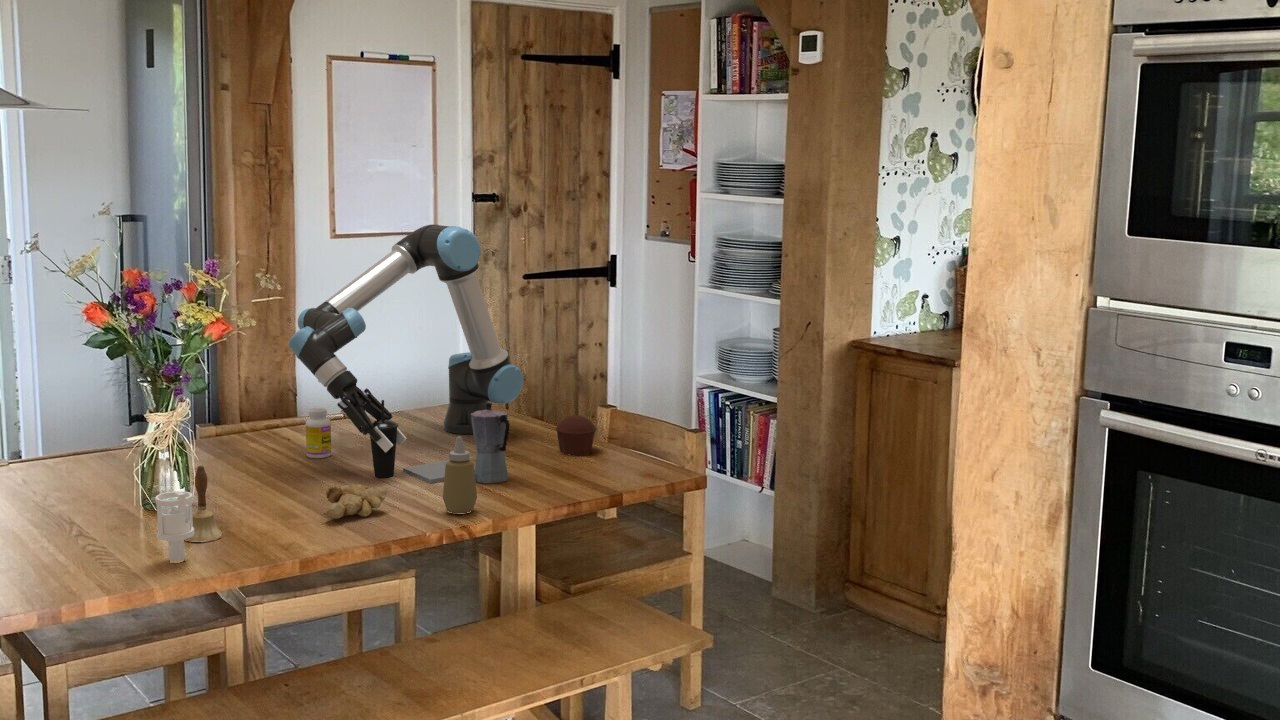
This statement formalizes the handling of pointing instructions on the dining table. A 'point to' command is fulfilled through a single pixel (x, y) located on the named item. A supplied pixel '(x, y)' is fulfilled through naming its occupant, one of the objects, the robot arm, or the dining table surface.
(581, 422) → the muffin
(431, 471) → the slate coaster
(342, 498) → the ginger root
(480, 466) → the moka pot
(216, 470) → the dining table surface
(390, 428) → the drinking cup
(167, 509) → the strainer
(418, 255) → the robot arm
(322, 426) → the supplement bottle
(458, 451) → the squeeze bottle
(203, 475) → the hand bell
